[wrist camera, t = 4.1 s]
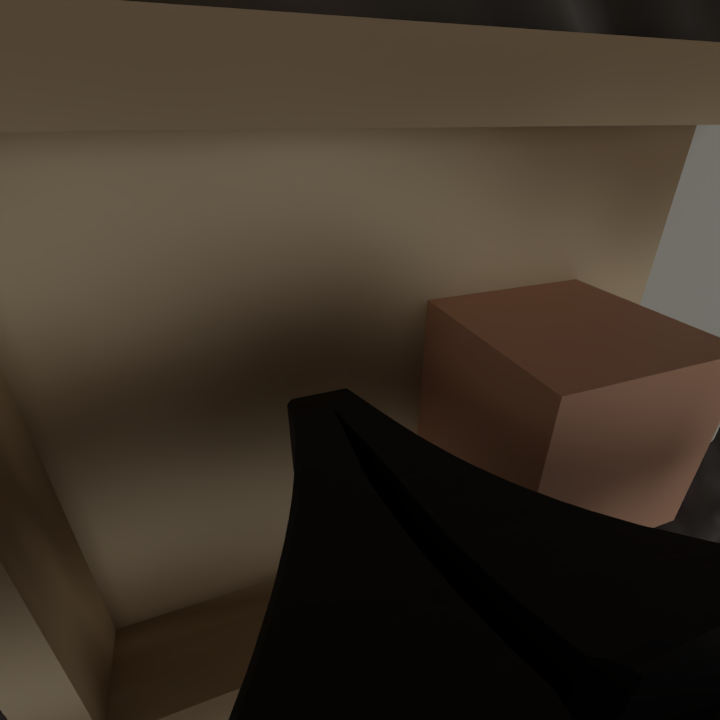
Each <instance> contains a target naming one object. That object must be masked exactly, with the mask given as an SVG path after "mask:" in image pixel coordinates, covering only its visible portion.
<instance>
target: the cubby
mask: <svg viewBox="0 0 720 720" xmlns="http://www.w3.org/2000/svg"><path fill="white" fill-rule="evenodd" d="M697 125H720V42H707V41H692V40H678V39H664V38H650V37H635V36H621V35H607V34H592V33H578V32H564V31H550V30H535V29H521V28H507V27H492V26H478V25H464V24H450V23H435V22H421V21H407V20H393V19H378V18H364V17H350V16H335V15H321V14H307V13H293V12H278V11H264V10H250V9H236V8H221V7H207V6H193V5H178V4H164V3H150V2H136V1H121V0H0V710H1V711H2V713H3V714H4V715H5V717H6V718H7V719H8V720H229V717H230V714H231V712H232V709H233V706H234V704H235V701H236V698H237V696H238V693H239V690H240V688H241V685H242V682H243V680H244V677H245V674H246V672H247V669H248V666H249V663H250V660H251V657H252V654H253V651H254V648H255V645H256V642H257V639H258V635H259V632H260V629H261V626H262V622H263V619H264V616H265V613H266V610H267V606H268V603H269V600H270V597H271V593H272V589H273V586H274V582H275V578H276V574H277V570H278V566H279V562H280V557H281V553H282V549H283V545H284V540H285V535H286V530H287V524H288V519H289V513H290V506H291V500H292V491H293V481H294V470H293V460H292V450H291V440H290V429H289V419H288V409H287V404H288V403H289V402H290V401H291V400H292V399H294V398H299V397H305V396H310V395H315V394H320V393H325V392H330V391H335V390H340V389H345V388H347V389H348V390H350V391H352V392H353V393H355V394H356V395H358V396H359V397H360V398H362V399H363V400H365V401H366V402H368V403H369V404H371V405H372V406H374V407H375V408H377V409H378V410H380V411H381V412H383V413H384V414H386V415H387V416H389V417H390V418H392V419H393V420H395V421H396V422H398V423H399V424H401V425H402V426H404V427H406V428H407V429H409V430H410V431H412V432H414V433H415V434H417V435H418V423H419V409H420V396H421V383H422V370H423V357H424V344H425V331H426V318H427V305H428V300H432V299H439V298H446V297H453V296H460V295H467V294H474V293H481V292H489V291H496V290H503V289H510V288H517V287H524V286H531V285H538V284H545V283H552V282H560V281H567V280H574V279H577V280H579V281H582V282H584V283H587V284H589V285H592V286H594V287H597V288H599V289H602V290H604V291H606V292H609V293H611V294H614V295H616V296H619V297H621V298H624V299H626V300H629V301H631V302H634V303H636V304H639V305H640V302H641V299H642V296H643V293H644V290H645V287H646V283H647V280H648V277H649V274H650V271H651V268H652V265H653V261H654V258H655V255H656V252H657V249H658V246H659V243H660V239H661V236H662V233H663V230H664V227H665V224H666V221H667V218H668V214H669V211H670V208H671V205H672V202H673V199H674V196H675V192H676V189H677V186H678V183H679V180H680V177H681V174H682V170H683V167H684V164H685V161H686V158H687V155H688V152H689V148H690V145H691V142H692V139H693V136H694V133H695V130H696V126H697Z"/></svg>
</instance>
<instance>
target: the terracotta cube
mask: <svg viewBox="0 0 720 720" xmlns="http://www.w3.org/2000/svg"><path fill="white" fill-rule="evenodd" d="M719 423H720V337H718V336H715V335H713V334H710V333H708V332H705V331H703V330H700V329H698V328H695V327H693V326H690V325H688V324H685V323H683V322H680V321H678V320H676V319H673V318H671V317H668V316H666V315H663V314H661V313H658V312H656V311H653V310H651V309H648V308H646V307H643V306H641V305H639V304H636V303H634V302H631V301H629V300H626V299H624V298H621V297H619V296H616V295H614V294H611V293H609V292H606V291H604V290H602V289H599V288H597V287H594V286H592V285H589V284H587V283H584V282H582V281H579V280H577V279H574V280H567V281H560V282H552V283H545V284H538V285H531V286H524V287H517V288H510V289H503V290H496V291H489V292H481V293H474V294H467V295H460V296H453V297H446V298H439V299H432V300H428V305H427V318H426V331H425V344H424V357H423V370H422V383H421V396H420V409H419V423H418V435H419V436H420V437H422V438H424V439H425V440H427V441H429V442H431V443H432V444H434V445H436V446H438V447H440V448H442V449H443V450H445V451H447V452H449V453H451V454H452V455H454V456H456V457H458V458H460V459H462V460H464V461H466V462H468V463H470V464H472V465H474V466H476V467H479V468H481V469H483V470H485V471H487V472H490V473H492V474H494V475H496V476H498V477H501V478H503V479H505V480H508V481H510V482H512V483H515V484H517V485H520V486H522V487H525V488H528V489H530V490H533V491H536V492H538V493H541V494H544V495H547V496H549V497H552V498H555V499H557V500H560V501H563V502H566V503H569V504H572V505H575V506H578V507H581V508H584V509H587V510H590V511H594V512H597V513H601V514H604V515H608V516H611V517H614V518H618V519H621V520H625V521H628V522H632V523H635V524H639V525H643V526H647V527H651V528H654V527H656V526H659V525H662V524H664V523H667V522H670V521H672V520H674V518H675V516H676V514H677V512H678V510H679V508H680V505H681V503H682V501H683V499H684V497H685V495H686V493H687V491H688V488H689V486H690V484H691V482H692V480H693V478H694V476H695V474H696V472H697V469H698V467H699V465H700V463H701V461H702V459H703V457H704V455H705V453H706V450H707V448H708V446H709V444H710V442H711V440H712V438H713V436H714V434H715V431H716V429H717V427H718V425H719Z"/></svg>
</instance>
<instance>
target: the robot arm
mask: <svg viewBox="0 0 720 720" xmlns="http://www.w3.org/2000/svg"><path fill="white" fill-rule="evenodd" d="M287 409H288V419H289V429H290V440H291V450H292V460H293V470H294V481H293V491H292V500H291V506H290V513H289V519H288V524H287V530H286V535H285V540H284V545H283V549H282V553H281V557H280V562H279V566H278V570H277V574H276V578H275V582H274V586H273V589H272V593H271V597H270V600H269V603H268V606H267V610H266V613H265V616H264V619H263V622H262V626H261V629H260V632H259V635H258V639H257V642H256V645H255V648H254V651H253V654H252V657H251V660H250V663H249V666H248V669H247V672H246V674H245V677H244V680H243V682H242V685H241V688H240V690H239V693H238V696H237V698H236V701H235V704H234V706H233V709H232V712H231V714H230V717H229V720H720V543H715V542H711V541H707V540H702V539H698V538H694V537H690V536H685V535H681V534H677V533H673V532H668V531H664V530H660V529H655V528H651V527H647V526H643V525H639V524H635V523H632V522H628V521H625V520H621V519H618V518H614V517H611V516H608V515H604V514H601V513H597V512H594V511H590V510H587V509H584V508H581V507H578V506H575V505H572V504H569V503H566V502H563V501H560V500H557V499H555V498H552V497H549V496H547V495H544V494H541V493H538V492H536V491H533V490H530V489H528V488H525V487H522V486H520V485H517V484H515V483H512V482H510V481H508V480H505V479H503V478H501V477H498V476H496V475H494V474H492V473H490V472H487V471H485V470H483V469H481V468H479V467H476V466H474V465H472V464H470V463H468V462H466V461H464V460H462V459H460V458H458V457H456V456H454V455H452V454H451V453H449V452H447V451H445V450H443V449H442V448H440V447H438V446H436V445H434V444H432V443H431V442H429V441H427V440H425V439H424V438H422V437H420V436H419V435H417V434H415V433H414V432H412V431H410V430H409V429H407V428H406V427H404V426H402V425H401V424H399V423H398V422H396V421H395V420H393V419H392V418H390V417H389V416H387V415H386V414H384V413H383V412H381V411H380V410H378V409H377V408H375V407H374V406H372V405H371V404H369V403H368V402H366V401H365V400H363V399H362V398H360V397H359V396H358V395H356V394H355V393H353V392H352V391H350V390H348V389H347V388H345V389H340V390H335V391H330V392H325V393H320V394H315V395H310V396H305V397H299V398H294V399H292V400H291V401H290V402H289V403H288V404H287Z"/></svg>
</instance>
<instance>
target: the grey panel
mask: <svg viewBox="0 0 720 720" xmlns="http://www.w3.org/2000/svg"><path fill="white" fill-rule="evenodd" d="M640 305H641V306H643V307H646V308H648V309H651V310H653V311H656V312H658V313H661V314H663V315H666V316H668V317H671V318H673V319H676V320H678V321H680V322H683V323H685V324H688V325H690V326H693V327H695V328H698V329H700V330H703V331H705V332H708V333H710V334H713V335H715V336H718V337H720V125H697V126H696V130H695V133H694V136H693V139H692V142H691V145H690V148H689V152H688V155H687V158H686V161H685V164H684V167H683V170H682V174H681V177H680V180H679V183H678V186H677V189H676V192H675V196H674V199H673V202H672V205H671V208H670V211H669V214H668V218H667V221H666V224H665V227H664V230H663V233H662V236H661V239H660V243H659V246H658V249H657V252H656V255H655V258H654V261H653V265H652V268H651V271H650V274H649V277H648V280H647V283H646V287H645V290H644V293H643V296H642V299H641V302H640ZM719 427H720V423H719V425H718V427H717V429H716V431H715V434H714V436H713V438H712V440H711V441H713V440H714V437H715V435H716V433H717V431H718V429H719Z"/></svg>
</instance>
